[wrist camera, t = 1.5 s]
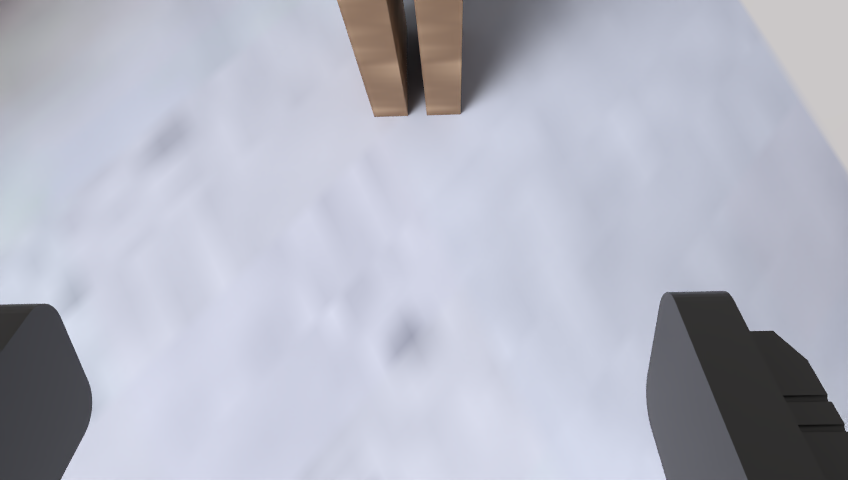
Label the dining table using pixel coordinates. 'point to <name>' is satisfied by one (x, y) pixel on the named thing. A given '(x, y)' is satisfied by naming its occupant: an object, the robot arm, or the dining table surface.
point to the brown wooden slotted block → (387, 52)
